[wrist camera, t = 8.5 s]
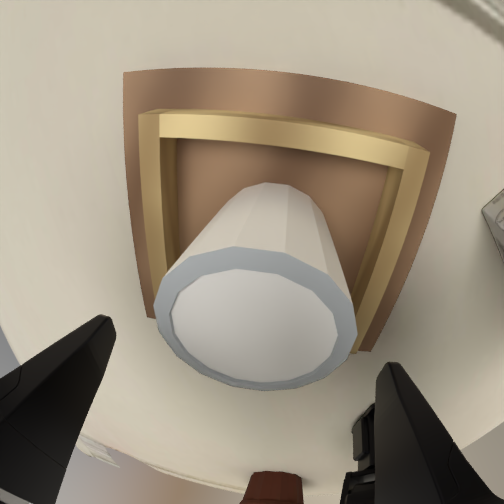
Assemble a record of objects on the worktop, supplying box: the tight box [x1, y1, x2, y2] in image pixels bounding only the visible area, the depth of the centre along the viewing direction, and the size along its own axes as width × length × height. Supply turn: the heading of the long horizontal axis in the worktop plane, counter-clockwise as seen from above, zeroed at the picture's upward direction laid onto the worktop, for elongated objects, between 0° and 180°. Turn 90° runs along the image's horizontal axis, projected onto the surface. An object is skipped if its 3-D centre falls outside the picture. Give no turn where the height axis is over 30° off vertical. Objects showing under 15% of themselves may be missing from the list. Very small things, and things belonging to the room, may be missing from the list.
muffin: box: [240, 471, 304, 504], centre depth 38 cm, size 12×11×10 cm
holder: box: [123, 68, 456, 354], centre depth 15 cm, size 16×16×3 cm
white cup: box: [153, 182, 358, 391], centre depth 12 cm, size 7×7×7 cm
